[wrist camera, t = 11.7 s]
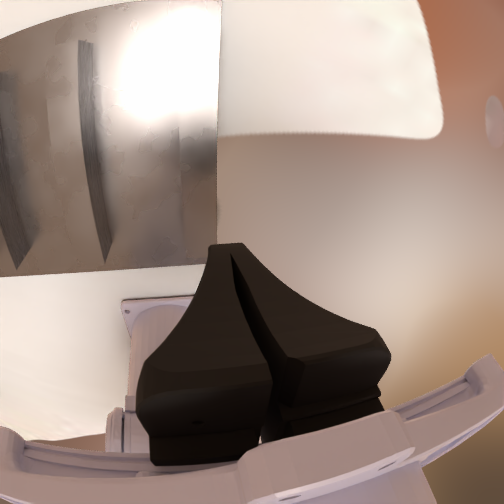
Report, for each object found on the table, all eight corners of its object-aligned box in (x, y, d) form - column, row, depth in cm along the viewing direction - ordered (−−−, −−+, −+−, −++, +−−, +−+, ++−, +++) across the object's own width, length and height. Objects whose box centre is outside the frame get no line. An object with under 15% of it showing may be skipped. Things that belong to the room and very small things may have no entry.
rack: (216, 258, 24) (221, 286, 21) (-30, 275, 19) (-45, 297, 16) (221, -1, 13) (228, -16, 10) (-74, 83, 8) (-99, 91, 6)
